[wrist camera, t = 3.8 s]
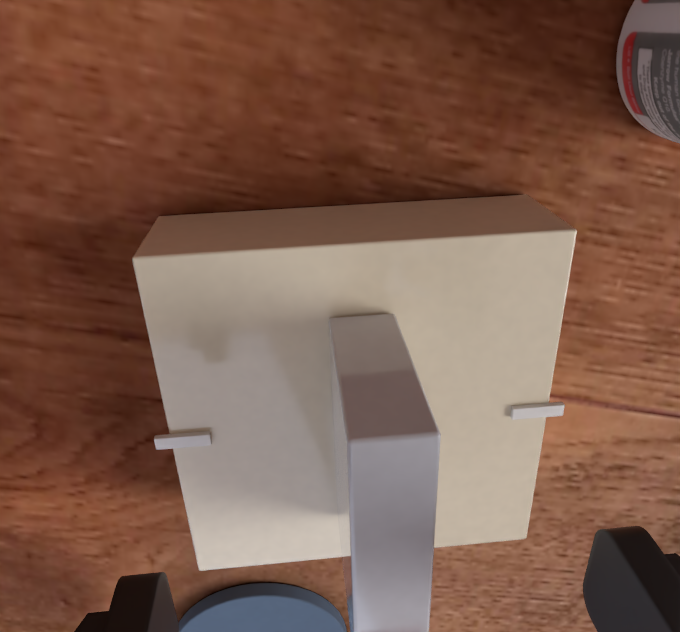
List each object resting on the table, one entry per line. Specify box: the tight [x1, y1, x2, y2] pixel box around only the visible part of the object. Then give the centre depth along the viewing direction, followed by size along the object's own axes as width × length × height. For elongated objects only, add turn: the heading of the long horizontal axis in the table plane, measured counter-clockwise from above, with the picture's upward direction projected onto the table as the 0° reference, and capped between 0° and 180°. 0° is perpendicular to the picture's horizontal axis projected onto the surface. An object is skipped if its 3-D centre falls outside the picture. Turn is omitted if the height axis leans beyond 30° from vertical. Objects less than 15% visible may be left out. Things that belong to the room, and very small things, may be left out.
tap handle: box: [328, 314, 441, 632], centre depth 13 cm, size 6×2×5 cm, turn 2°
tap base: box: [132, 195, 577, 571], centre depth 16 cm, size 11×10×3 cm
